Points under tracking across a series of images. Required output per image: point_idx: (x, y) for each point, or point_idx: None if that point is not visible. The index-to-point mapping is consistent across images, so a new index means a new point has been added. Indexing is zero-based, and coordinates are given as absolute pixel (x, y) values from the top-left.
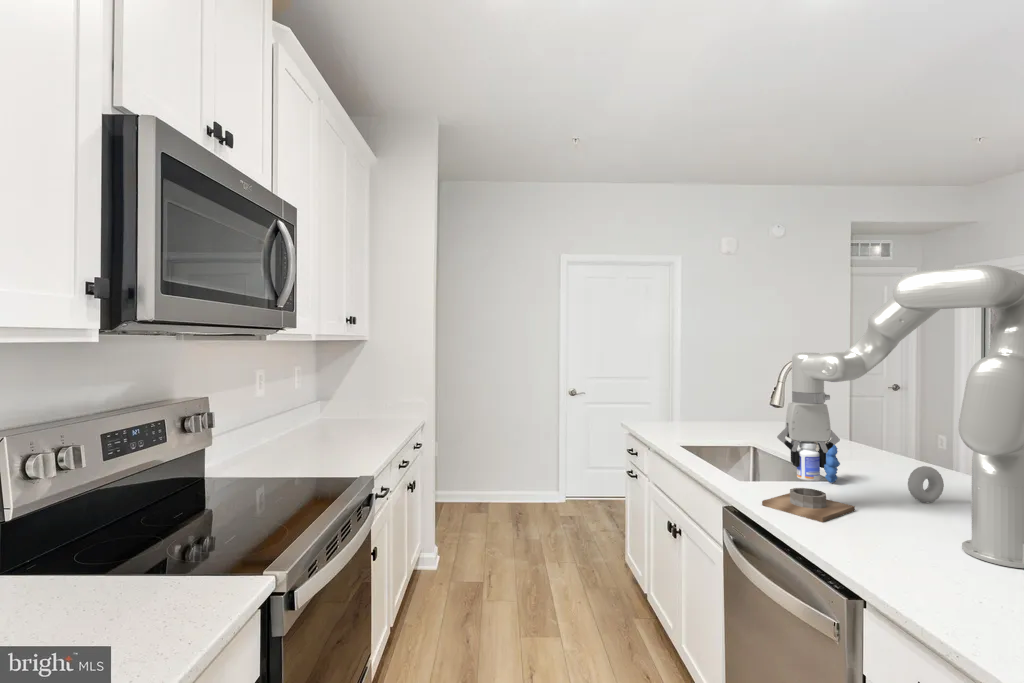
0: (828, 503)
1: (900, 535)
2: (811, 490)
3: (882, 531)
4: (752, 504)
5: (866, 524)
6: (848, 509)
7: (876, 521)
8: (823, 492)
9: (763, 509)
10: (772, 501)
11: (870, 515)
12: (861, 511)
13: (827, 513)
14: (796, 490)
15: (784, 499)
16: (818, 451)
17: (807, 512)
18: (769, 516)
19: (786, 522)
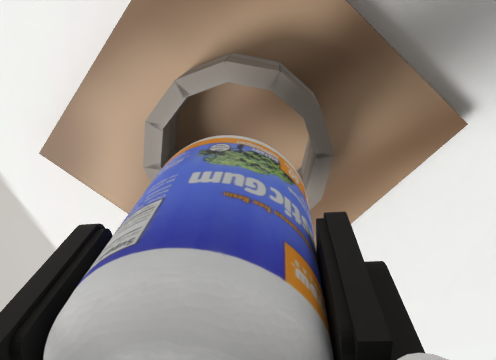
0: (346, 111)
1: (465, 343)
2: (272, 90)
3: (427, 324)
4: (11, 143)
5: (409, 276)
6: (411, 168)
7: (469, 237)
8: (328, 140)
9: (63, 200)
10: (83, 150)
11: (493, 168)
12: (486, 116)
13: None
14: (185, 99)
15: (137, 98)
16: (355, 355)
17: None
18: None
19: None
